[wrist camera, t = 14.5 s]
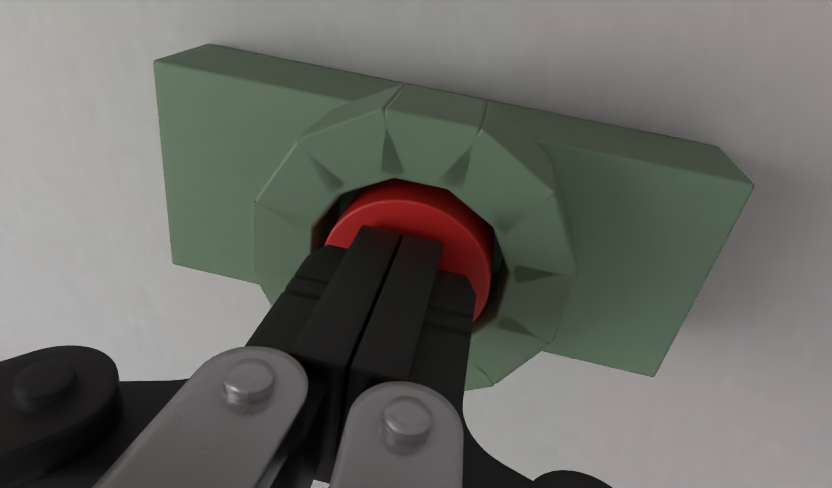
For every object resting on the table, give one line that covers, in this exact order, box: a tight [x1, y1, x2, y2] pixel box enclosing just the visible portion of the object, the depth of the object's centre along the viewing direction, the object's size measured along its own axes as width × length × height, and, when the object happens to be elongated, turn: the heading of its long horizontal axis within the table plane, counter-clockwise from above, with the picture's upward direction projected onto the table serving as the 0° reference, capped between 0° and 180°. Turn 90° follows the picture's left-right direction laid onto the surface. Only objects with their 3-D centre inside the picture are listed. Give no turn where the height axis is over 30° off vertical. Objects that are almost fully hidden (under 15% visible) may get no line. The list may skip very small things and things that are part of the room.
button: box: [325, 178, 495, 322], centre depth 11 cm, size 3×3×2 cm
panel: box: [153, 44, 754, 391], centre depth 12 cm, size 12×6×4 cm, turn 81°
